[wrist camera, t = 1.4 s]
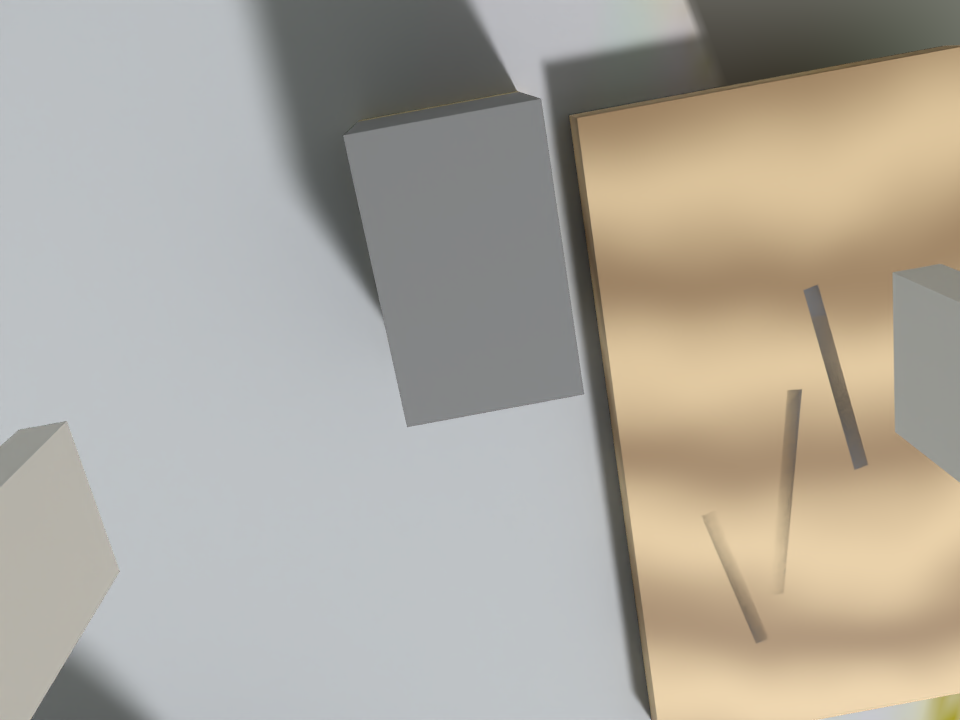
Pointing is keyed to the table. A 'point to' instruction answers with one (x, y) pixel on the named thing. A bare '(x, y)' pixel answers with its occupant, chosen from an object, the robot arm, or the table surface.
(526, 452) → the table surface
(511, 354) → the block
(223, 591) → the table surface
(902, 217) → the board
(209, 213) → the table surface
